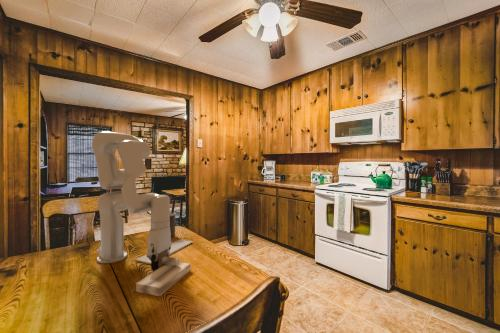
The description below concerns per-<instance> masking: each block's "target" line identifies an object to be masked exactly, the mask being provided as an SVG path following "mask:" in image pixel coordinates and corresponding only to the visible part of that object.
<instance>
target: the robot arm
mask: <svg viewBox="0 0 500 333" xmlns="http://www.w3.org/2000/svg"><path fill="white" fill-rule="evenodd" d="M91 145H92V146H91V147H92V148H91V149H92V151H93V155H94V157H95V160H96V168H97V176H98V177H97V178H98V183H99V186H100V188H101V189H103V190H115V189H117V191H108V192H106V193H103V194H101V195H100V196H99V197H98V199H97V207H98V208H97V209H98V211H99V218H100V219H99V220H100V226H99V228H100V246H99V247H98V249H96V250H95V253H97V254H98V256H97V258H96V262H97V263H98V264H112V263H117V262H120V261H123V260H124V259H126V258H127V257H128V252H127V251H125V250H124V249H125V246H124V242H125V239H124V230H125V229H124V228H125V227H124V218H123V216H122V214H120V212H121V211H126V210H128V211H129V212H130V213H132V214H141V213H144V212H150V229H149V231H148V237H147V246H146V247H147V252H146V254H145V255H146V256H147V257H148V258H149V259H150V261H151V265H150V269H151V270H157V269H158V268H159V261H157V260H158V254H159V253H161V252H163V251H164V250H166V249H168V257H170V255H169V253H170V249H171V246H172V243H173V241H172V238H171V231H170V213H171V212H170V210H171V209H170V208H171V202H170V196H169V195H168V194H158V193H156V192H148V193H141V194H138V193H137V184H136V180H137V178H140V177H142V176H143V175H144V174H146V172H147V167H146V164H145V161H144V159H147V158H149V156H150V155H151V147H150V145H149V144H148V142H146V141H144V140H143V139H141V138H138V137H137V136H135V135H132V134H130V133H123V132H116V131H115V132H114V131H99V132H97V133H96V134H95V135H94V136H93V138H92V143H91ZM112 151H117V153H118V156H119V157H120V161H121V164H122V168H121V169H120V168H119V165H118V164H119V163H118V158H117V157H116V155H115V153H113V152H112ZM118 189H120V190H118ZM154 252H155V253H154ZM154 254H155V255H156V256H155V257H154Z"/></svg>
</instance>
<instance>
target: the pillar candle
mask: <svg viewBox="0 0 500 333" xmlns="http://www.w3.org/2000/svg"><path fill="white" fill-rule="evenodd" d="M170 231H171V239H173V238H172V237H174V236H175V237H176V214H175V213H172V212H170ZM175 237H174V238H175Z"/></svg>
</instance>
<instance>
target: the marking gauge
mask: <svg viewBox="0 0 500 333" xmlns="http://www.w3.org/2000/svg"><path fill="white" fill-rule="evenodd" d="M154 253H155V252H154ZM155 256H156V255H155V254H154V257H155ZM157 261H159V268H160V267H161V266H163V265H164V264H171V265H177V264H179V262H180V258H177V257H170V256H169V257H168V249H166V250H164V251H163V252H161V253H159V254H158V260H157ZM154 271H155V270H152V271H151V273H152V272H154Z"/></svg>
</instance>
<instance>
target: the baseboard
mask: <svg viewBox="0 0 500 333" xmlns="http://www.w3.org/2000/svg"><path fill="white" fill-rule="evenodd" d="M178 238H179V239H178ZM178 238H177V239H176V240H175V241H172V246H171V249H170V253H169V256H171V255H173V254H174V253H176V252H178V251H180V249H181V250H182V249H184V248H186V247H188V246H190V245H191V244H190V243H192V242H193V243H194V240H191V239H187V237H185V239H182V238H180V237H178ZM186 239H187V240H186ZM193 243H192V244H193ZM189 244H190V245H189ZM187 245H188V246H187ZM185 246H186V247H185ZM146 255H147V254H144V255H142V256H140V257H137V258H136V259H134V260H133V261H134V262H137V263H141V264H147V265H150V266H151V261H150V259H149V258H148V257H147V256H146Z"/></svg>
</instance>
